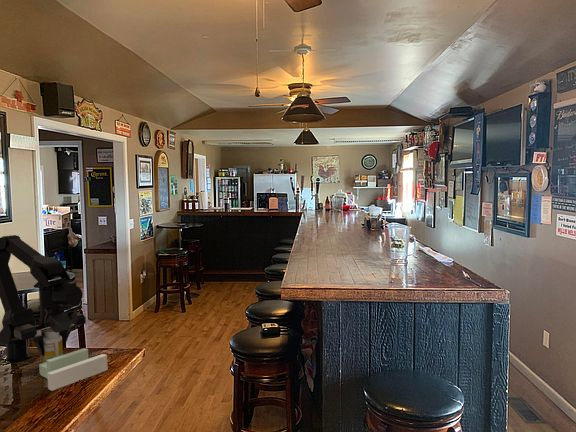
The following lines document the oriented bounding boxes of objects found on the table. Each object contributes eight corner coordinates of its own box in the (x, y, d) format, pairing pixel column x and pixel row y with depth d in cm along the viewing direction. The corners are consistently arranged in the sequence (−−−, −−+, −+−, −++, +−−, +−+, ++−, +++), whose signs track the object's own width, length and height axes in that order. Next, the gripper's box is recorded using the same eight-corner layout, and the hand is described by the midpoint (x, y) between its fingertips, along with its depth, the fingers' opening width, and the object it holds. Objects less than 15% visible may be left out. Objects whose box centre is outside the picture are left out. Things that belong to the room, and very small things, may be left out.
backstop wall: (48, 388, 115) (47, 372, 114) (103, 368, 128) (103, 353, 127) (51, 391, 114) (50, 374, 113) (107, 370, 126) (107, 355, 126)
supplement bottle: (57, 356, 133) (56, 325, 133) (66, 360, 130) (65, 329, 130) (39, 361, 129) (38, 330, 128) (48, 366, 126) (46, 334, 125)
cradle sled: (39, 374, 123) (38, 356, 123) (77, 361, 132) (76, 344, 132) (50, 380, 119) (49, 361, 119) (88, 367, 128) (88, 349, 128)
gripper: (28, 314, 116) (31, 370, 117) (94, 299, 131) (96, 349, 132) (11, 308, 123) (14, 360, 124) (75, 294, 138) (77, 341, 139)
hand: (52, 352), depth 130 cm, fingers closed on supplement bottle, 5 cm apart
